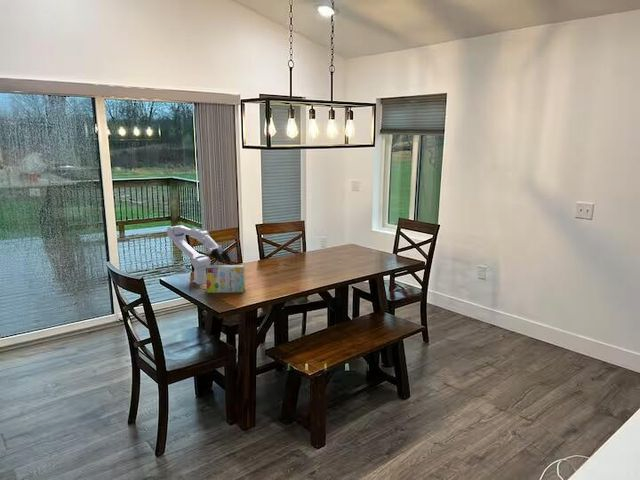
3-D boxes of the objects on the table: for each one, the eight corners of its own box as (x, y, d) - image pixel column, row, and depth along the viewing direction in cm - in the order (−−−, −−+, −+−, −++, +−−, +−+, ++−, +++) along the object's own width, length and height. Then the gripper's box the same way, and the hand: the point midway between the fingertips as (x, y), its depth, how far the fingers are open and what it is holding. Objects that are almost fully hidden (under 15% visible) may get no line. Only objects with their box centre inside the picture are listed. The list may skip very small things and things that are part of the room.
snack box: (245, 289, 267) (244, 264, 264) (244, 292, 262) (243, 267, 259) (208, 290, 267) (207, 264, 264) (206, 293, 261) (205, 267, 258)
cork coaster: (197, 286, 273) (197, 285, 273) (211, 283, 278) (211, 282, 278) (203, 290, 266) (203, 289, 266) (218, 287, 271) (218, 286, 271)
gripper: (207, 239, 263) (222, 254, 258) (223, 241, 276) (237, 256, 271) (200, 248, 264) (214, 264, 259) (216, 250, 277) (230, 265, 272)
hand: (225, 260), depth 265 cm, fingers open, 7 cm apart
